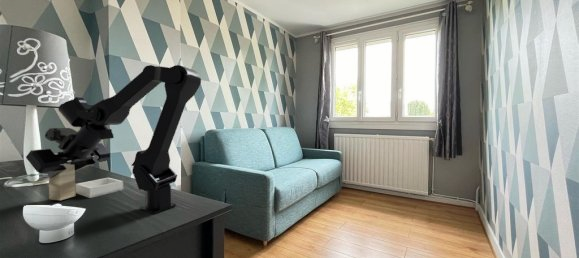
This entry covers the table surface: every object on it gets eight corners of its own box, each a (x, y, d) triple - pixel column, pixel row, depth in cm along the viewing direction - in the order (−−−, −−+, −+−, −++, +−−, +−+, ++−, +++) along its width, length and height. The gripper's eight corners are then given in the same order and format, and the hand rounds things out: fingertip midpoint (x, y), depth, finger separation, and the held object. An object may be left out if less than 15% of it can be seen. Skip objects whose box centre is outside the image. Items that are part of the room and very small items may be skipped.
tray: (123, 190, 80) (123, 181, 80) (90, 198, 72) (89, 188, 72) (108, 186, 84) (108, 177, 84) (75, 193, 76) (75, 183, 76)
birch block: (75, 195, 72) (74, 164, 72) (60, 200, 68) (59, 167, 68) (65, 194, 73) (63, 164, 72) (49, 199, 69) (48, 166, 68)
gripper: (101, 118, 78) (75, 150, 80) (29, 118, 59) (-2, 160, 62) (123, 143, 77) (95, 175, 79) (56, 151, 58) (23, 192, 61)
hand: (58, 175), depth 70 cm, fingers closed on birch block, 4 cm apart
